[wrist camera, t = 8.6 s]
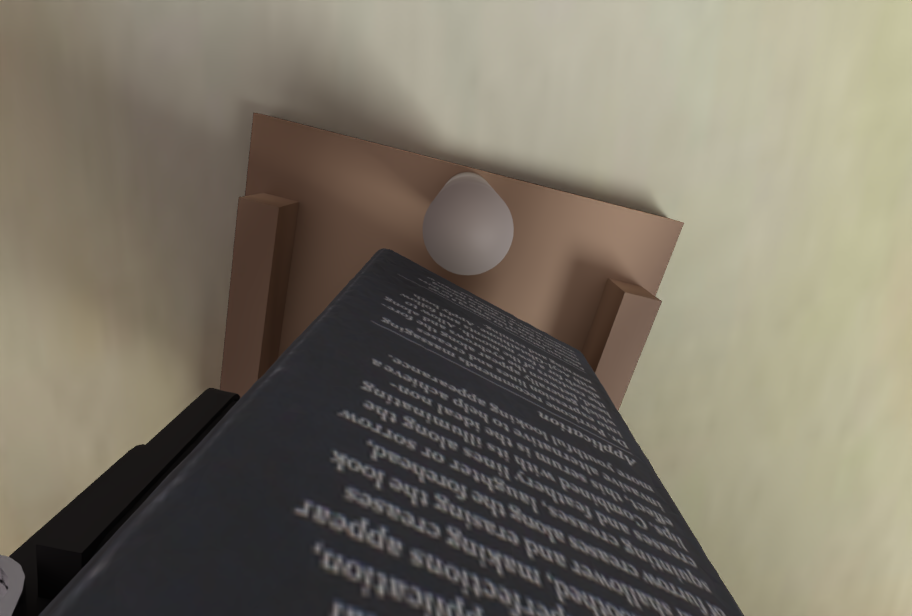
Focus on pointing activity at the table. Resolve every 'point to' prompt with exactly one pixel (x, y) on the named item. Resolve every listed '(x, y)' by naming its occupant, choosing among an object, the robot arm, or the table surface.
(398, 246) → the cradle
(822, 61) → the table surface
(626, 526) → the box
